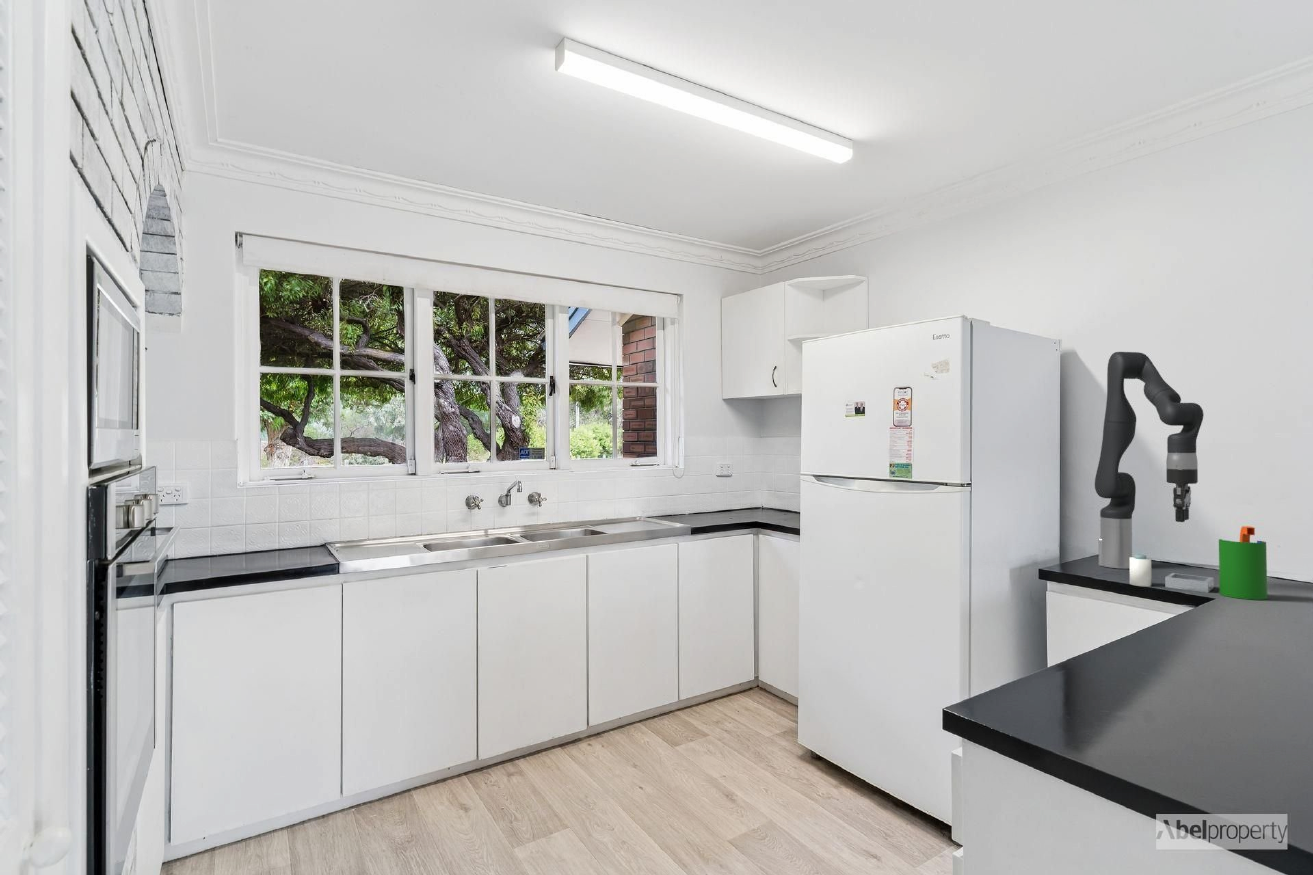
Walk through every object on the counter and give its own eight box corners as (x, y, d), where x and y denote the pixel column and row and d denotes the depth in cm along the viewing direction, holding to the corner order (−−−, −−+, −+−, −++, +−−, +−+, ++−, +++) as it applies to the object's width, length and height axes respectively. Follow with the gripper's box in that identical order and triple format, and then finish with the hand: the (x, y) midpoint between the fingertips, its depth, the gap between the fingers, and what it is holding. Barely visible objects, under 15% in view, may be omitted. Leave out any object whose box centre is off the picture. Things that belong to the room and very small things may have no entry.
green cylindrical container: (1251, 593, 193) (1251, 524, 193) (1277, 600, 184) (1276, 527, 184) (1213, 592, 194) (1213, 523, 194) (1237, 599, 185) (1237, 527, 185)
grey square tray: (1165, 587, 201) (1165, 577, 201) (1172, 582, 208) (1171, 572, 208) (1208, 592, 194) (1208, 582, 194) (1213, 587, 200) (1213, 577, 201)
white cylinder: (1127, 584, 205) (1127, 555, 205) (1131, 582, 208) (1131, 553, 209) (1149, 587, 201) (1149, 557, 201) (1153, 584, 204) (1153, 555, 205)
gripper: (1170, 467, 212) (1170, 518, 212) (1162, 467, 202) (1163, 521, 202) (1200, 467, 207) (1200, 520, 207) (1194, 468, 197) (1194, 523, 197)
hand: (1182, 520), depth 204 cm, fingers open, 8 cm apart
